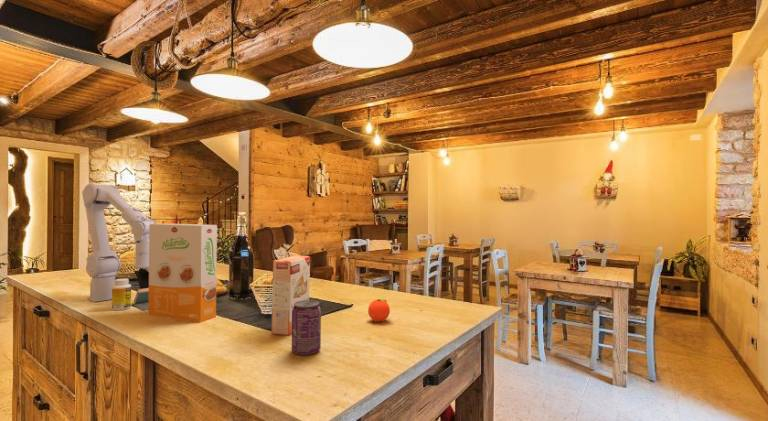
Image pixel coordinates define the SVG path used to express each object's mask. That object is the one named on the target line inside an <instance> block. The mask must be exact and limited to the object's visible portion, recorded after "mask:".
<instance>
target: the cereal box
mask: <svg viewBox="0 0 768 421" xmlns="http://www.w3.org/2000/svg"><path fill="white" fill-rule="evenodd" d="M217 239H218V225H217V224H199V223H198V224H197V223H196V224H192V223H191V224H189V223H157V224H149V287H148V288H149V310H148V316H155V317H161V318H168V319H175V320H180V321H187V322H195V323H203V322H206V321H209V320H212V319H215V318H217V272H218V271H217V265H218V263H217V262H218V261H217V260H218V257H217V256H218V251H217V250H218V243H217V242H218V240H217Z"/></svg>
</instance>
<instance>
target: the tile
mask: <svg viewBox="0 0 768 421" xmlns="http://www.w3.org/2000/svg"><path fill="white" fill-rule="evenodd" d="M145 302H149V287H148V288H145V289H140V288H138V289H137V291H136V294H135V297H134V300H133V304H138V303H145Z"/></svg>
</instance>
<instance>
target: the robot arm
mask: <svg viewBox="0 0 768 421" xmlns="http://www.w3.org/2000/svg"><path fill="white" fill-rule="evenodd" d="M81 193H82V200H83V205H84V207H85V213H86V219H87V225H88V230H89V236H90V241H91V248H92V252H91V253H90V254H89V255H88V256H87V257H86V267H85V271H86V273H87V275H89V278H91V279H90V282H89V283H90V290H89V294H90V295H89V296H87V297H86V299H88V300H90V301H91V302H93V303H95V302H104V301H110V300H111V301H112V286H114V285H115V280H116V276H118V273H119V272H120V270H121V267H122V263H121V261H120V259H119V257H118V253H116V252H115V251H113V250H112V249H111V246H110V241H109V236H108V235H109V234H108V230H107V223H106V218H105V213H104V210H105V209H106V208H108V207H110V206H111V205H112V206H113V207H114V208H115V209H117V210H118V211H119V212H120V213H121V218H122V220H124V221H125V222H126V224H127V225H129V226H130V227H131V233H132V234H133V239H134V242H135V251H134V252H135V254H134V255H135V256H134V257H135V258H134V259H135V260H134V269H138V270H134V271H133V272H134V274H135V277H136V278H137V281H138V284H139V289H145V288H149V224H158V223H157V222H156V221H155V220H154V219H150V218H148V217H147V216H146V215H144V214H143V213H142V212H141V211H140V209H139V208H138V207H135V206H130V205H129V204H128V202H127V201H126V200H125V199H124V198H123V196H122V195H121V191H120V189H119V188H117V186H116V185H114V184H113V185H107V184H106V185H105V184H95V183H94V184H93V183H88V184H86V185H85V187H84V188H83V190H82V191H81Z"/></svg>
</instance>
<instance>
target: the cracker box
mask: <svg viewBox="0 0 768 421" xmlns="http://www.w3.org/2000/svg"><path fill="white" fill-rule="evenodd" d="M272 262H273V263H272V294H271V295H272V296H271V297H272V298H271V300H272V301H271V302H272V303H271V305H272V306H271V334H272V335H273V334H274V335H282V336H290V335H292V310H293V308H294V303H295V302H298V301H304V300H310V278H311V277H310V276H311V274H310V273H311V256H309V255H291V256H288V257H284V258H280V259H276V260H273V261H272Z"/></svg>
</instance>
